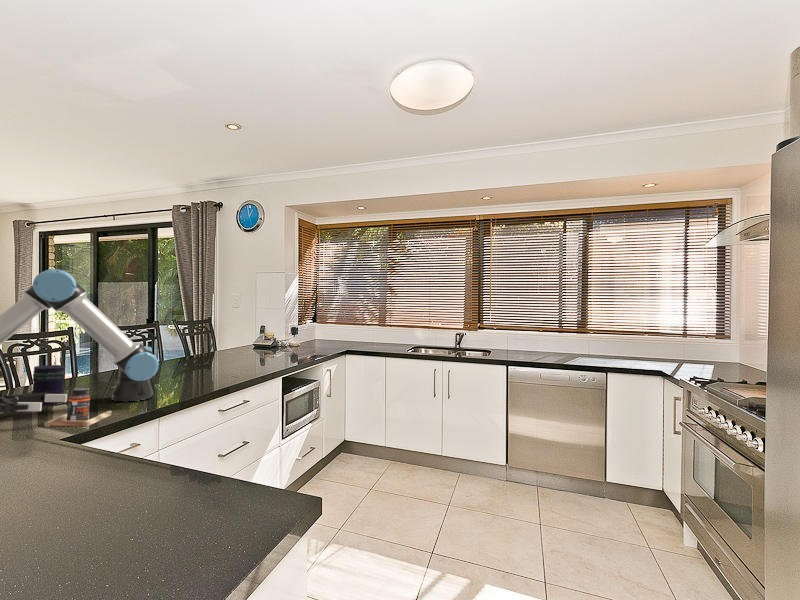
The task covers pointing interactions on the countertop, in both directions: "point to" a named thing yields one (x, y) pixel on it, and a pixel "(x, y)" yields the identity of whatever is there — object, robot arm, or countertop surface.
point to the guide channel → (75, 421)
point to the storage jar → (48, 380)
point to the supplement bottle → (78, 405)
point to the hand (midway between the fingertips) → (54, 402)
